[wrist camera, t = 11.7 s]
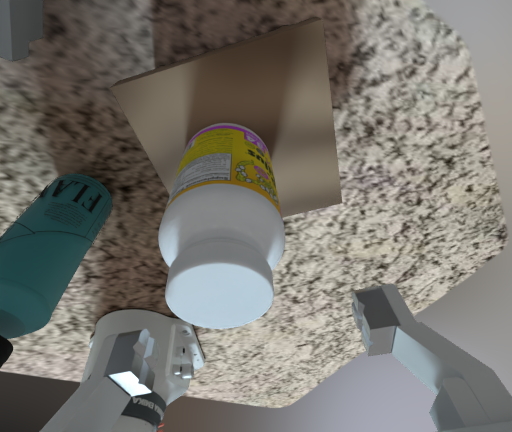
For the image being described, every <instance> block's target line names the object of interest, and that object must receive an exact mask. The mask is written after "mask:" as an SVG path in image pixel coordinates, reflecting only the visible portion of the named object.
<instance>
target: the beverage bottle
mask: <svg viewBox="0 0 512 432" xmlns="http://www.w3.org/2000/svg"><path fill="white" fill-rule="evenodd" d="M51 182H52V181H51ZM48 185H49V184H48ZM48 185H47V186H46V187H45V188H44V190H43V191H42V192H41V193H40V194H41V195H40V194H39V195H40V196H39V197H38V198H37V199H36V197H35V199H36V200H35V201H34V200H33V201H34V202H33V204H31V205H30V207H29V208H28V207H27V208H28V209H27V208H26V209H27V210H26V211H25V212H24V213H23V214H22V215H21V216H17V217H19V218H16V219H17V220H16V221H15V222H14V224H13V225H12V226H10V228H9V227H8V229H7V228H6V229H7V231H6V232H5V233H4V234H3V235H2V236H1V237H0V368H1V367H2V365H3V364H4V363H5V362H6V361H7V359H8V358H9V356H10V355H11V353H12V351H13V346H12V344H11V343H10V342H9V341H8V340H7V339H11V338H16V337H20V336H23V335H26V334H29V333H32V332H35V331H37V330H39V329H41V328H43V327H44V326H45V325H46V324H47V323H48V322H49V320H50V318H51V315H52V313H53V311H54V309H55V307H56V306H57V304H58V302H59V300H60V299H61V297H62V295H63V293H64V292H65V290H66V288H67V286H68V284H69V283H70V281H71V279H72V277H73V276H74V274H75V272H76V270H77V268H78V267H79V265H80V263H81V261H82V260H83V258H84V256H85V254H86V253H87V251H88V250H89V248H90V247H91V245H92V243H93V241H94V240H95V238H96V236H97V235H98V233H99V231H100V229H101V228H102V226H103V224H104V225H105V221H106V219H107V218H109V217H108V216H109V215H110V213H112V212H111V209H112V210H113V205H112V198H111V195H110V193H109V192H108V190H107V189H106V188H105V187H104V186H103V185H102V184H101V183H100V182H99V181H97V180H95V179H94V178H91V177H89V176H86V175H82V174H67V175H63V176H61V177H60V176H59V178H57V179H55V180H54V181H53V182H52V183H51V185H50V186H49V187H48ZM47 187H48V188H47ZM24 210H25V209H24ZM19 215H20V214H19ZM107 220H108V219H107ZM11 223H12V222H11ZM4 231H5V230H4ZM100 232H101V231H100ZM96 239H97V238H96ZM93 244H94V243H93Z"/></svg>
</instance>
